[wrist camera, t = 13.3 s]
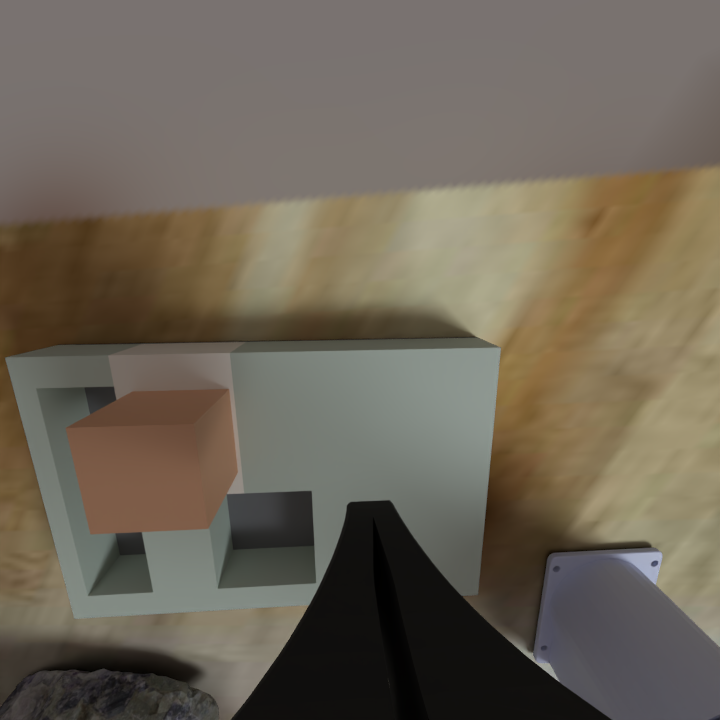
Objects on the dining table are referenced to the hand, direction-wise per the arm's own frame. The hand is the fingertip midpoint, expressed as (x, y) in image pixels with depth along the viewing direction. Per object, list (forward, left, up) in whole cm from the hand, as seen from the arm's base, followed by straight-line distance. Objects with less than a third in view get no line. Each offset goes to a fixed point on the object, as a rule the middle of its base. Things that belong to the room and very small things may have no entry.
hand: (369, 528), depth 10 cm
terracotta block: (0, +8, -7) cm, 11 cm away
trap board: (-3, +4, -10) cm, 11 cm away
